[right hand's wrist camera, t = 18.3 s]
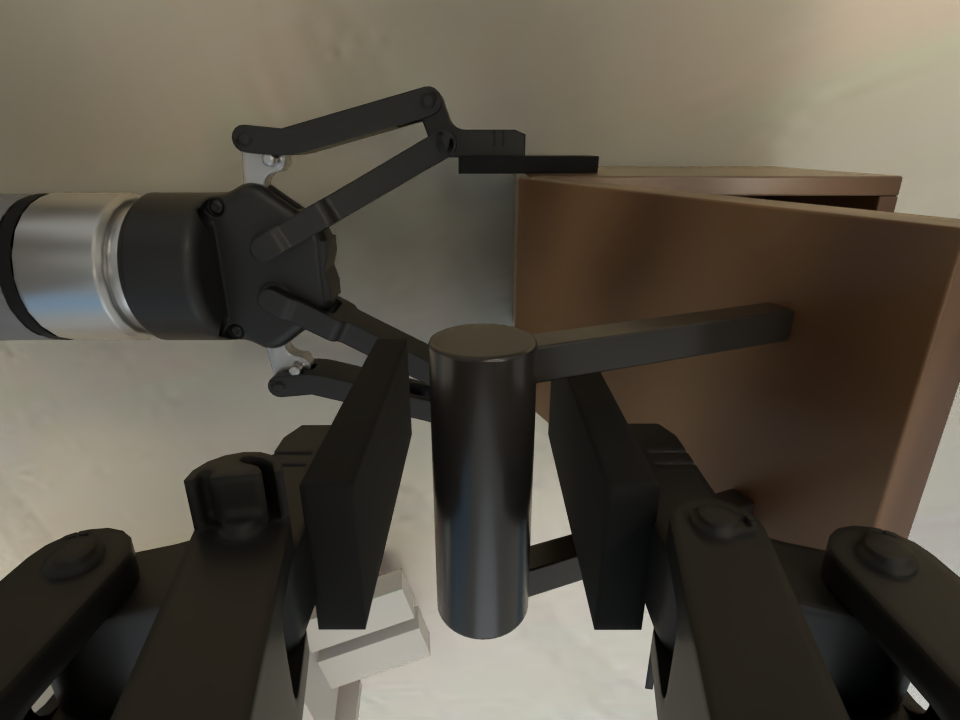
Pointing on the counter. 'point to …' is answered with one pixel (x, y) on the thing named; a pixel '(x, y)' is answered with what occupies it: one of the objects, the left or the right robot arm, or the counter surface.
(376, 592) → the toy
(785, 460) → the lid
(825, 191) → the chest
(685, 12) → the counter surface
